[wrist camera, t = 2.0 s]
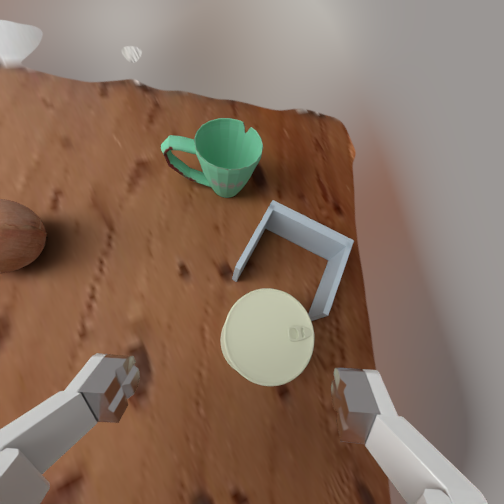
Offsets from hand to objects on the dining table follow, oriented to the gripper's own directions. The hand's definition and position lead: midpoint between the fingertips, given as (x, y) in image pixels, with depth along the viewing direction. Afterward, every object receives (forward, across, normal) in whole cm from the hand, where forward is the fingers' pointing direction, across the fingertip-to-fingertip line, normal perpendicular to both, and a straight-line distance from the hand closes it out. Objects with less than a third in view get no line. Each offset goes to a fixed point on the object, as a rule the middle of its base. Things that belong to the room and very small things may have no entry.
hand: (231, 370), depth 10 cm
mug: (+37, +9, 0) cm, 38 cm away
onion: (+22, +34, +6) cm, 41 cm away
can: (+18, +1, +18) cm, 26 cm away
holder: (+27, -4, +12) cm, 30 cm away
